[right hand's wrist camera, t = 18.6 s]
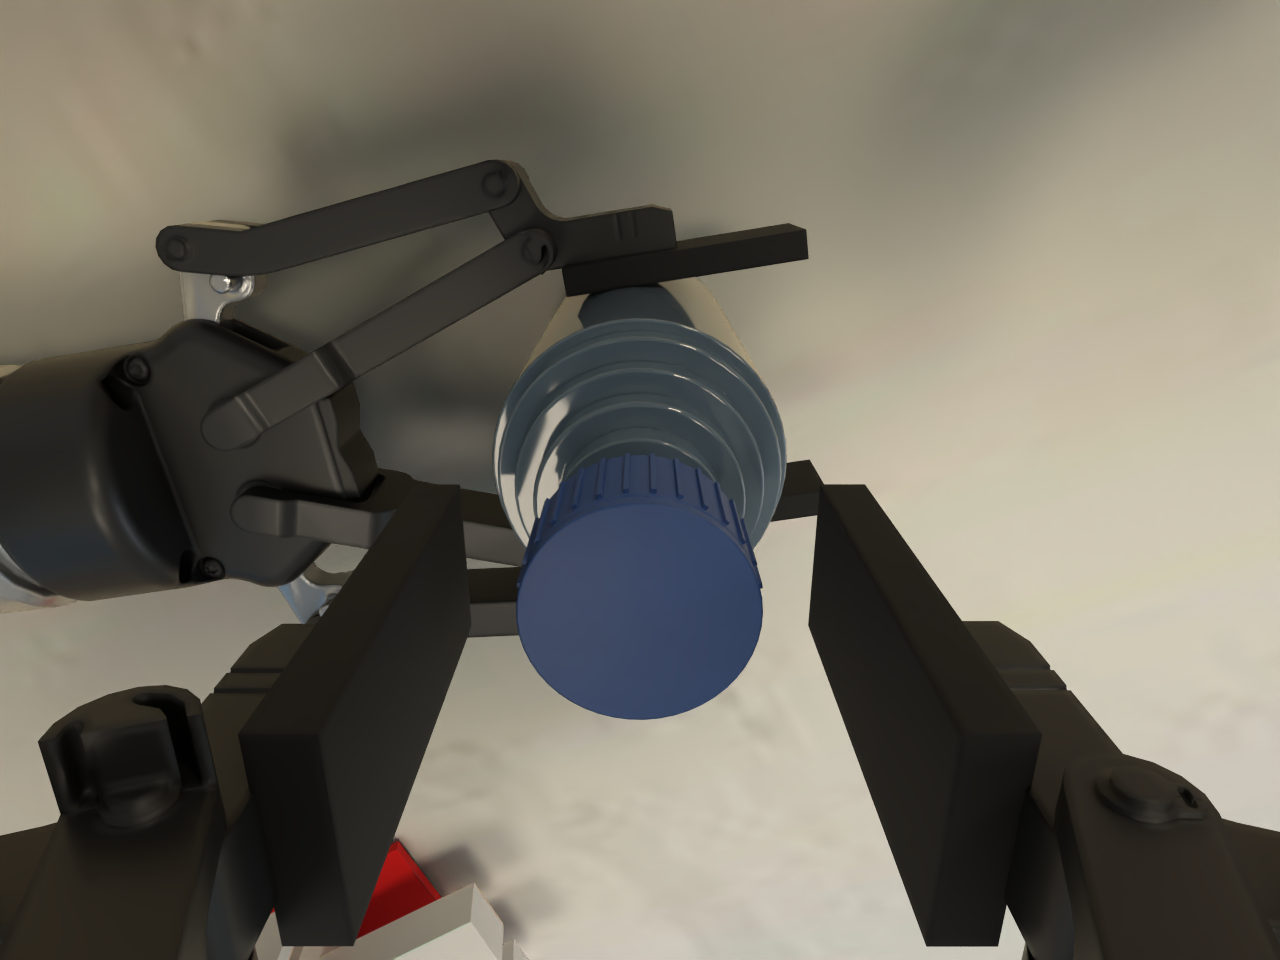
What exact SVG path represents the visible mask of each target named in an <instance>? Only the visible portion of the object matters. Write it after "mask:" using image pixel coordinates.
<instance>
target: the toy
mask: <svg viewBox="0 0 1280 960" xmlns="http://www.w3.org/2000/svg"><path fill="white" fill-rule="evenodd" d="M503 926H504V924H503V923H502V921H501V920H500V918H499V917H498V915H497V914H496V913H495V911H494V910H493V908H492V907H491V906H490V904H489V903H488V901H487V900H486V898H485V897H484V896H483V894H482V893H481V891H480V890H479V888H478V887H477V886H476V884H475V883H474V882H473V883H471V884H469V885H467V886H465V887H463V888H461V889H459V890H457V891H455V892H453V893H451V894H448V895H446V896H444V897H441V896H440V895H439V893H438V892H437V891H436V889H435V888H434V887H433V886H432V884H431V883H430V882H429V880H428V879H427V878H426V876H425V875H424V874H423V873H422V871H421V870H420V869H419V867H418V866H417V865H416V863H415V862H414V861H413V860H412V858H411V857H410V856H409V854H408V853H407V852H406V850H405V849H404V848H403V847H402V845H401V844H400V843H399V841H397V842H395V843H393V844H391V846H390V849H389V851H388V854H387V857H386V859H385V862H384V865H383V868H382V870H381V873H380V876H379V878H378V881H377V884H376V887H375V889H374V892H373V895H372V897H371V900H370V903H369V906H368V908H367V911H366V914H365V916H364V919H363V922H362V925H361V927H360V930H359V933H358V935H357V938H356V941H355V944H354V946H282V944H281V939H280V934H279V929H278V925H277V920H276V915H275V910H274V908H273V910H272V912H271V914H270V916H269V918H268V920H267V922H266V924H265V926H264V928H263V930H262V932H261V934H260V936H259V938H258V940H257V942H256V944H255V947H256V952H257V956H258V960H529V959H528V958H527V957H526V955H525V954H524V952H523V951H522V949H521V948H520V947H519V945H518V944H517V942H516V941H515V940H514V939H512V940H510V941H508V942H506V943H504V944H503Z"/></svg>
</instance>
